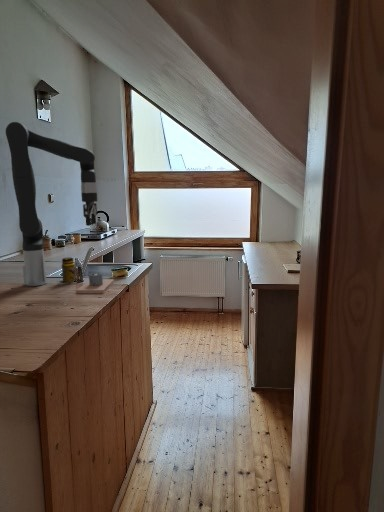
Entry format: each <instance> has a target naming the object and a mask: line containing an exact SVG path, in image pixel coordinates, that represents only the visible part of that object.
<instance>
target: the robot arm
mask: <svg viewBox="0 0 384 512" xmlns="http://www.w3.org/2000/svg"><path fill="white" fill-rule="evenodd" d="M5 136H6V140H7V143H8V148H9V152H10V157H11V162H10V163H11V172H12V173H11V175H12V181H13V183H12V184H13V189H14V193H15V199H16V201H17V206H18V219H19V220H18V221H19V222H18V223H19V225H18V226H19V231H21V234H22V244H21V245H22V254H23V255H22V257H23V264H24V265H22V273H23V275H22V276H23V285H24V286H28V287H36V286H42V285H46V284H47V271H46V262H45V252H44V233H43V232H44V231H43V229H44V228H43V223H42V221H41V220H40V218H38V214H37V208H36V207H37V206H36V200H37V199H36V197H37V196H36V195H37V188H36V186H37V185H36V180H35V179H36V178H35V173H34V168H33V165H32V163H31V160H30V156H29V147H30V148H34V149H39V150H41V151H44V152H47V153H49V154H52V155H56V156H57V157H61V158H64V159H67V160H72V161H76V162H78V163H79V167H80V168H79V169H80V182H81V183H80V184H81V185H80V191H81V192H80V193H81V202H82V203H83V204H82V210H83V212H82V213H83V217H84V218H85V226H89V227H90V226H92V225H96V224H97V215H98V207H97V203H96V202H98V187H97V178H96V177H97V176H96V173H95V159H96V157H95V154H94V152H93V151H92V150H90V149H88V148H84V147H80V146H76V145H73V144H71V143H68V142H65V141H61V140H58V139H56V138H51V137H47V136H43V135H40V134H37V133H36V132H33V131H31V130H30V129H28V128H27V127H26V126H25V125H24V124H23V123H20V122H17V121H12V122H10V123H9V124H7V125H6V128H5ZM84 203H85V204H84Z"/></svg>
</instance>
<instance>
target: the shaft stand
mask: <svg viewBox="0 0 384 512" xmlns="http://www.w3.org/2000/svg"><path fill="white" fill-rule="evenodd" d="M94 275H97V274H94ZM114 283H115V279H109V278H108V279H106V278H105V279H103V285H100V286H90V285H89V280H87V281H86V282H85V283H84V284H83V285H81V286H80V287H78V288H77V289H76V294H104V293H106V292H107V290H108V289H109V288H110V287H111V286H112V285H113V284H114Z"/></svg>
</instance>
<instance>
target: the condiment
mask: <svg viewBox="0 0 384 512" xmlns="http://www.w3.org/2000/svg"><path fill="white" fill-rule="evenodd" d="M61 260H62V261H61V262H62V263H61V273H62V280H57V283H58V284H59V285H65V284H73V283H75V282H74V281H75V280H76V267H75V263H74V258H72V257H63V258H62V259H61Z"/></svg>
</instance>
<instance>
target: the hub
mask: <svg viewBox="0 0 384 512" xmlns="http://www.w3.org/2000/svg"><path fill="white" fill-rule="evenodd" d="M94 274H97V275H94ZM103 274H104V273H102V272H91V273H89V274H88V281H89V285H90V286H100V285H103V278H104V277H103V276H104V275H103Z"/></svg>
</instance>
